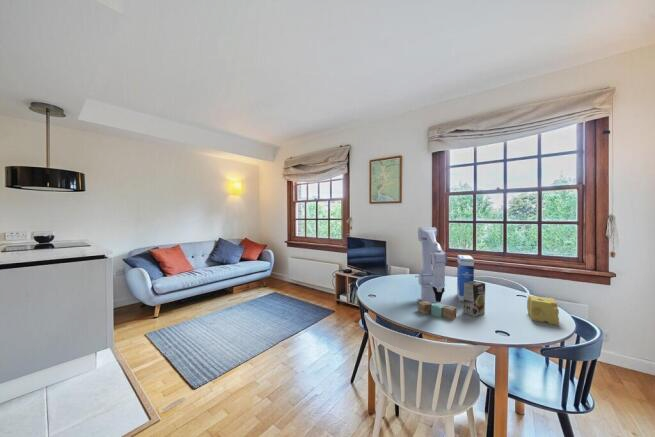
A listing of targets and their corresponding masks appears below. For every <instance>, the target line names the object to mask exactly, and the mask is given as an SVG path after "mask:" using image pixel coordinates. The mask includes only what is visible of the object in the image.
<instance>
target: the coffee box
mask: <svg viewBox="0 0 655 437" xmlns="http://www.w3.org/2000/svg"><path fill="white" fill-rule="evenodd" d="M462 302H463V303H462V305H463V307H462V313H464V314H466V315H470V316H472V317H478V316H481V315H484V314H486V313H485V312H486V310H485V308H486V307H485V306H486V283H485V282H481V281H476V280H474V281H470V282H465V283H464V300H463V301H462Z"/></svg>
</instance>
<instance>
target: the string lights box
mask: <svg viewBox="0 0 655 437" xmlns="http://www.w3.org/2000/svg"><path fill="white" fill-rule="evenodd" d="M456 264H457V273H456V274H457V275H456V277H457V282H456V283H457V285H456V286H457V287H456V288H457V290H456V292H457V293H456V296H457V297H458V301H459V302H463V300H464V283H465V282H470V281H475V280H474V279H475V274H474V272H475V259H474V258H473V256H471V255H468V254H467V255H465V254H463V255H462V254H457V263H456Z"/></svg>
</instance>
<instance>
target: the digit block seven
mask: <svg viewBox="0 0 655 437" xmlns="http://www.w3.org/2000/svg"><path fill="white" fill-rule="evenodd" d="M444 305H445V306H444V307H443V317H442V318H444V319H448V320H452V321H454V320H455V319H456V318H457V307H456V306H453V305H452V306H451V305H449V304H444Z"/></svg>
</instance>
